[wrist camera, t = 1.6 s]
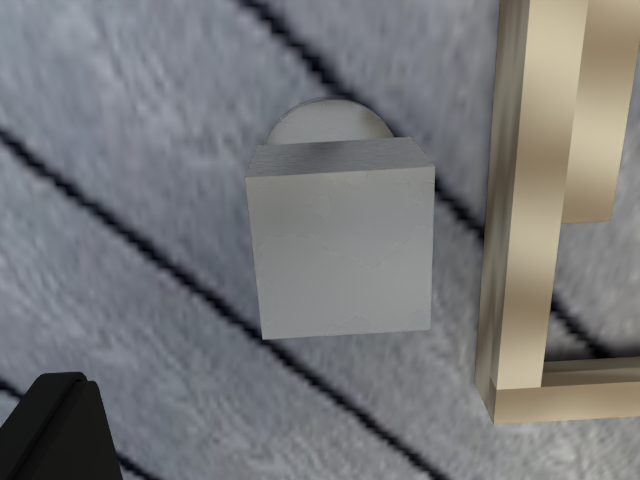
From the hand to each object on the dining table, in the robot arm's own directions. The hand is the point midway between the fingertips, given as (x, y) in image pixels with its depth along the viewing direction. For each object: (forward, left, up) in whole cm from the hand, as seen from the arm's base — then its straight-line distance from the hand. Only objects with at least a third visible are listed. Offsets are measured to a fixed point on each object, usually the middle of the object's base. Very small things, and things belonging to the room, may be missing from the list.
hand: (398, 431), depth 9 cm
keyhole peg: (0, 0, -17) cm, 17 cm away
